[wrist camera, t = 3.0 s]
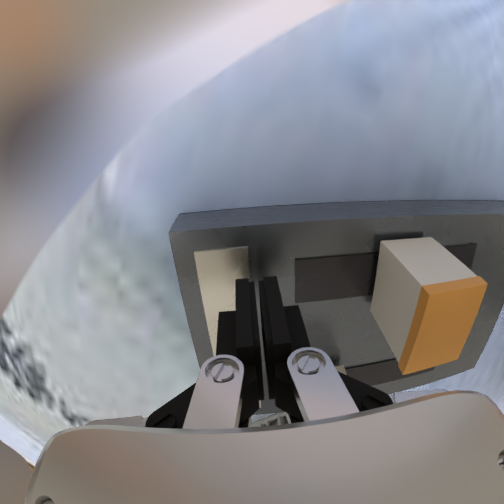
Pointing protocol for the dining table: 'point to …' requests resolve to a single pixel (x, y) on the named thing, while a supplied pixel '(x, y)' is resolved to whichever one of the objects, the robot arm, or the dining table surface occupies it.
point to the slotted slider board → (333, 274)
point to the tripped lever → (424, 302)
